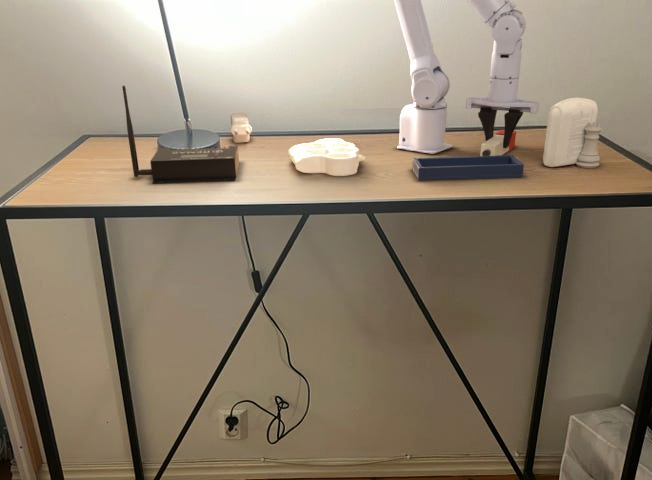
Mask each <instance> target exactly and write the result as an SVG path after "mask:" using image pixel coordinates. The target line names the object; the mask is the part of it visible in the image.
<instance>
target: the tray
mask: <svg viewBox="0 0 652 480" xmlns="http://www.w3.org/2000/svg"><path fill="white" fill-rule="evenodd" d="M524 168H525V164H524V163H523V162H521V161H520V159H518V158H517V157H516V156H515V155H514V154H503V155H497V156H480V155H471V156H468V155H467V156H440V157H439V156H438V157H436V156H435V157H413V158H412V172H413V174H414V176H415V178H416V179H417V181H418V182H428V181H429V182H430V181H455V180H460V181H461V180H487V179H490V180H491V179H514V178H515V179H516V178H517V179H518V178H519V179H520V178H521V179H522V178H523V176H524Z"/></svg>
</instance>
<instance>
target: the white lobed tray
mask: <svg viewBox="0 0 652 480" xmlns="http://www.w3.org/2000/svg"><path fill="white" fill-rule="evenodd" d="M360 152H361V150H360V148H359V147H357V146H356V144H354V143H353V142H347V141H345V140H344V139H342V138H338V137H337V138H335V137H329V138H321V139H317V140H316V141H314V142H307V143H300V144H295V145H293V146H292V147H290V148H289V149H288V157H290V158H291V162H292V163H293V165H294V166H295V169H296V170H297V171H299V172H301V173H302V174H303V173H304V174H327V175H329V176H335V177H347V176H353V175H356V174H357V172H358V168H359V166H360V162H362V161H363V160H366V159H367V157H366V156H364V155H362V154H360Z"/></svg>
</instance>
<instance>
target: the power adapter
mask: <svg viewBox="0 0 652 480" xmlns="http://www.w3.org/2000/svg"><path fill="white" fill-rule="evenodd" d="M229 131H230V132H231V138H232V141H233V143H235V144H236V143H238V144H240V143H248V142H250V140H251V139H250V134H251V133H252V132H253V128H252V126H251V124H250V122H249V117H248V114H247V113H246V112H233V113H231V114H230V128H229Z"/></svg>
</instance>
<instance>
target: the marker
mask: <svg viewBox="0 0 652 480" xmlns="http://www.w3.org/2000/svg"><path fill="white" fill-rule="evenodd" d="M504 132H505V129H500V130H499V131H497V132H496V133H495V134H494V135H493V137H492V138H491V139H489V140H487V141H486V140H485V141H484V142H483V143H481V144H480V153H479V156H497V155H505V153H507V152H509V151H510V150H512V149H513V148H515V147H516V145H515V144H516V137H517V131H516V130H514V132H513V134H512V137H511V140H510V143H509V147H507V148H503V139H504Z"/></svg>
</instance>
